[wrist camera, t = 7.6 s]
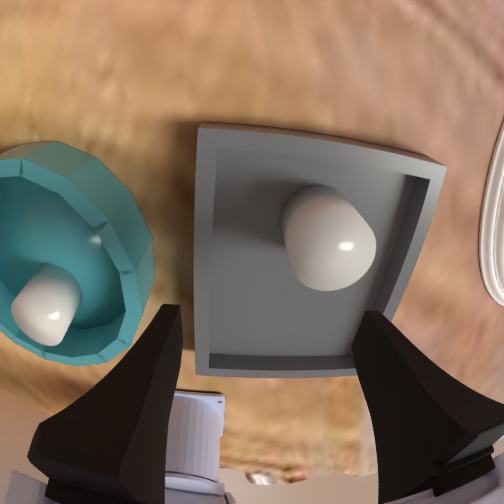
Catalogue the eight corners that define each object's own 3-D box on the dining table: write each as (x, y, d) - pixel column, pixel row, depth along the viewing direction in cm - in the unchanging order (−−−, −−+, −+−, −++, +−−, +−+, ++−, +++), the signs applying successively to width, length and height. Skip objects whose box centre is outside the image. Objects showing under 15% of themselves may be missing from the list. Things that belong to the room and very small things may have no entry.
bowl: (162, 340, 24) (153, 378, 21) (11, 316, 23) (-8, 344, 20) (150, 137, 16) (128, 153, 13) (-34, 152, 15) (-68, 170, 12)
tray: (356, 353, 26) (363, 374, 24) (198, 351, 25) (196, 374, 23) (426, 155, 17) (447, 166, 15) (203, 121, 16) (197, 127, 14)
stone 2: (342, 254, 20) (362, 292, 16) (275, 249, 19) (283, 289, 16) (358, 189, 17) (386, 218, 14) (285, 180, 17) (298, 208, 14)
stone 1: (88, 313, 22) (70, 350, 18) (44, 307, 21) (23, 340, 18) (75, 266, 20) (52, 301, 16) (29, 261, 19) (3, 293, 16)
